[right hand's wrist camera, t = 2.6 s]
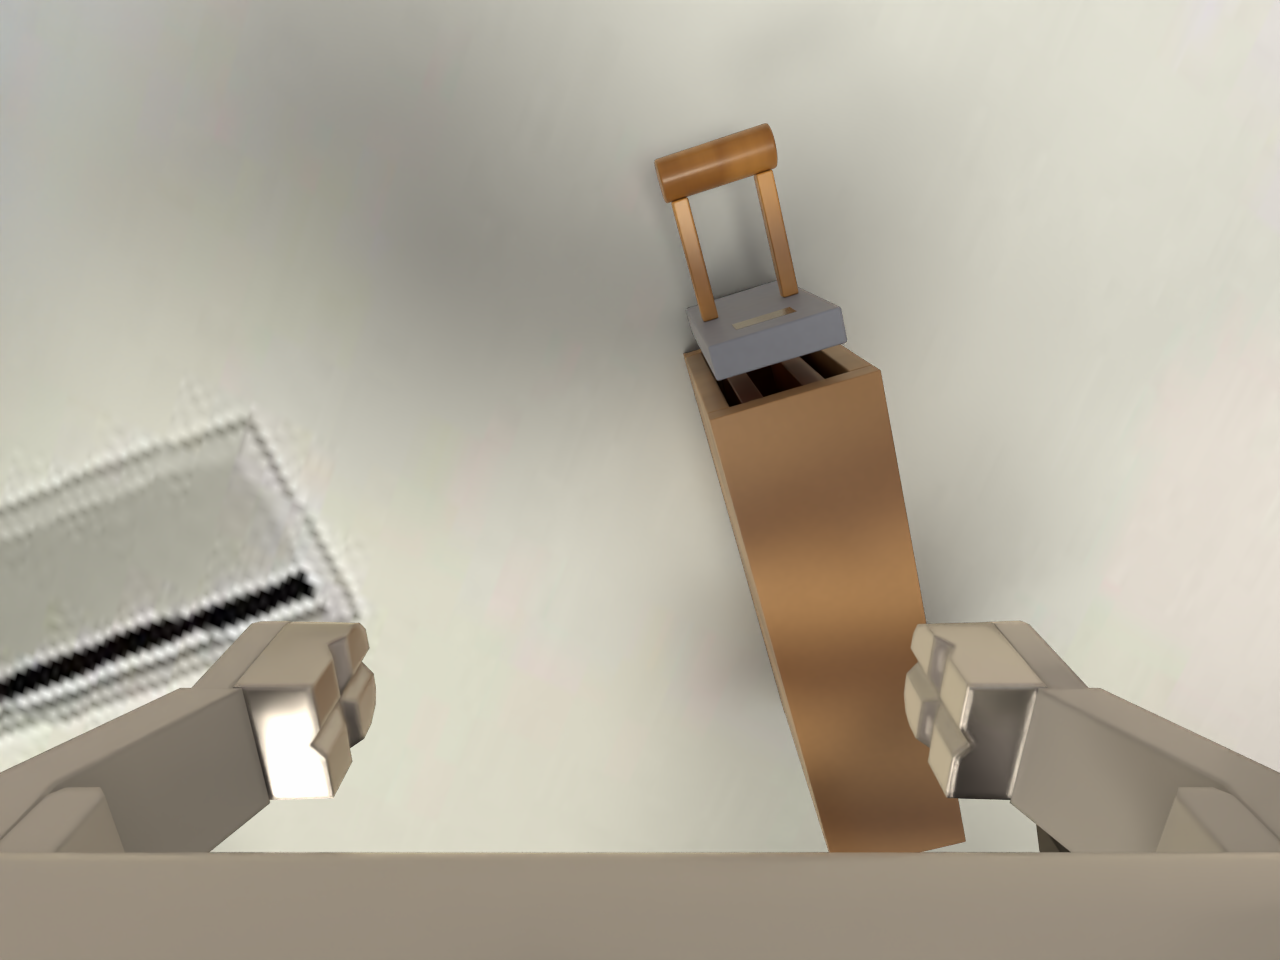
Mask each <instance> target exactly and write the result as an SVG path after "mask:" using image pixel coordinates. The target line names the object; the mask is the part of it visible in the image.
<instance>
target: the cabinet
mask: <svg viewBox="0 0 1280 960" xmlns="http://www.w3.org/2000/svg"><path fill="white" fill-rule="evenodd" d="M683 355H684V359H685V362H686V366H687V369H688V373H689V376H690V380H691V383H692V387H693V390H694V394H695V398H696V401H697V405H698V408H699V412H700V415H701V419H702V422H703V426H704V429H705V433H706V437H707V440H708V444H709V447H710V451H711V454H712V458H713V461H714V465H715V468H716V472H717V476H718V479H719V483H720V486H721V490H722V493H723V497H724V500H725V504H726V507H727V511H728V515H729V518H730V522H731V525H732V529H733V532H734V536H735V539H736V543H737V546H738V550H739V553H740V557H741V561H742V564H743V568H744V571H745V575H746V578H747V582H748V585H749V589H750V592H751V596H752V600H753V603H754V607H755V610H756V614H757V617H758V621H759V624H760V628H761V631H762V635H763V639H764V642H765V646H766V649H767V653H768V656H769V660H770V663H771V667H772V670H773V674H774V678H775V681H776V685H777V688H778V692H779V695H780V699H781V702H782V706H783V709H784V712H785V715H786V718H787V721H788V724H789V727H790V730H791V734H792V737H793V740H794V743H795V746H796V750H797V753H798V756H799V759H800V762H801V765H802V769H803V772H804V775H805V778H806V781H807V784H808V788H809V791H810V794H811V797H812V800H813V804H814V807H815V810H816V813H817V816H818V819H819V823H820V826H821V829H822V832H823V835H824V838H825V842H826V845H827V848H828V851H829V852H923V851H928V850H932V849H936V848H940V847H945V846H949V845H953V844H958V843H962V842H965V841H966V840H965V834H964V829H963V823H962V818H961V812H960V807H959V801H958V798H947V797H946V796H945V794H944V792H943V790H942V788H941V786H940V784H939V782H938V780H937V778H936V776H935V775H934V773H933V771H932V769H931V767H930V765H929V763H928V757H929V751H930V748H929V747H927V746H926V745H925V744H923V743H922V742H920V741H919V740H917V739H916V738H915V736H914V734H913V732H912V730H911V728H910V726H909V722H908V719H907V715H906V712H905V700H904V688H905V680H906V673H907V672H908V671H909V670H910V669H911V668H912V667H913V666H914V665H915V664H916V663H917V662H918V660H917V658H916V657H915V655H914V653H913V651H912V650H911V643H912V637H913V633H914V631H915V628H916V626H917V624H926V619H925V613H924V608H923V602H922V597H921V591H920V586H919V580H918V575H917V569H916V563H915V558H914V552H913V547H912V541H911V536H910V530H909V525H908V519H907V514H906V508H905V503H904V497H903V492H902V486H901V481H900V475H899V470H898V464H897V458H896V453H895V447H894V442H893V436H892V431H891V425H890V420H889V414H888V409H887V403H886V398H885V392H884V387H883V381H882V376H881V371H880V370H879V369H878V368H876V367H875V366H873V365H871V364H870V363H868V362H867V361H865V360H864V359H862V358H861V357H859V356H858V355H856V354H854V353H853V352H851V351H850V350H848V349H847V348H845V347H844V346H842V345H841V344H840V345H836V346H833V347H830V348H826V349H823V350H820V351H816V352H813V353H810V354H806V355H803V356H800V358H802V359H803V360H804V361H805V362H806V363H807V364H808V365H810V366H811V367H812V368H813V369H814V370H815V371H816V372H818V373H819V374H820V375H821V376H822V377H823V378H824V379H823V380H820V381H817V382H813V383H810V384H806V385H803V386H800V387H796V388H793V389H789V390H786V391H783V392H779V393H776V394H773V395H769V396H766V397H762V398H759V399H756V400H752V401H749V402H746V403H742V404H739V405H735V406H732V407H729V405H728V403H727V400H726V396H725V393H724V389H723V385H722V381H721V380H717V379H716V378H715V376H714V374H713V372H712V370H711V368H710V366H709V364H708V362H707V361H706V359H705V357H704V355H703V353H702V351H701V349H699V350H695V351H692V352H689V353H684V354H683Z"/></svg>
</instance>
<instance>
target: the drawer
mask: <svg viewBox="0 0 1280 960" xmlns="http://www.w3.org/2000/svg"><path fill="white" fill-rule="evenodd" d="M654 163H655V169H656V173H657V177H658V181H659V184H660V188H661V191H662V195H663V198H664V201H665V202H666V203H669V202H671V205H672V209H673V213H674V216H675V220H676V224H677V228H678V231H679V235H680V239H681V243H682V246H683V250H684V254H685V258H686V261H687V265H688V269H689V273H690V276H691V280H692V284H693V287H694V291H695V295H696V299H697V302H698V305H696V306H693V307H689V308H687V309H686V313H687V316H688V320H689V324H690V327H691V331H692V334H693V336H694V338H695V340H696V341H697V343H698V345H699V347H700V349H701V351H702V353H703V355H704V357H705V359H706V361H707V362H708V364H709V366H710V368H711V370H712V372H713V374H714V376H715V378H716V379H717V380H721V381H722V385H723V389H724V393H725V396H726V400H727V403H728V405H729V407H732V406H735V405H739V404H742V403H746V402H749V401H752V400H756V399H759V398H762V397H766V396H769V395H773V394H776V393H779V392H783V391H786V390H789V389H793V388H796V387H800V386H803V385H806V384H810V383H813V382H817V381H820V380H823V379H824V378H823V377H822V376H821V375H820V374H819V373H818V372H816V371H815V370H814V369H813V368H812V367H811V366H810V365H808V364H807V363H806V362H805V361H804V360H803V359H802V358H800V356H803V355H806V354H810V353H813V352H816V351H820V350H823V349H826V348H830V347H833V346H836V345H840V344H843V343H845V342H847V337H846V332H845V326H844V321H843V316H842V311H841V308H840V307H839V306H837V305H835V304H832V303H830V302H828V301H826V300H824V299H822V298H820V297H818V296H816V295H814V294H811V293H809V292H807V291H805V290H803V289H801V288H799V287H797V282H796V277H795V273H794V268H793V263H792V259H791V254H790V250H789V245H788V240H787V236H786V231H785V226H784V222H783V217H782V212H781V208H780V203H779V198H778V194H777V189H776V184H775V180H774V175H773V171H772V170H771V169H774V168H776V166H777V150H776V144H775V140H774V136H773V133H772V130H771V128H770V126H769V125H768V124H767V123H764V124H761V125H758V126H755V127H752V128H749V129H746V130H743V131H740V132H737V133H734V134H731V135H728V136H725V137H722V138H719V139H716V140H713V141H710V142H707V143H704V144H701V145H698V146H695V147H692V148H689V149H686V150H683V151H680V152H677V153H674V154H671V155H668V156H665V157H662V158H659V159H656V160H655V162H654ZM753 175H754V180H755V184H756V189H757V193H758V198H759V202H760V207H761V211H762V215H763V220H764V224H765V229H766V233H767V238H768V242H769V247H770V251H771V256H772V260H773V264H774V269H775V273H776V278H777V280H776V281H773V282H770V283H767V284H764V285H760V286H757V287H754V288H751V289H747V290H744V291H741V292H738V293H734V294H731V295H728V296H725V297H722V298H718V299H715V300H714V297H713V293H712V289H711V285H710V282H709V278H708V274H707V270H706V266H705V262H704V258H703V254H702V251H701V247H700V243H699V239H698V235H697V231H696V227H695V224H694V220H693V216H692V212H691V208H690V204H689V200H688V198H687V197H688V196H691V195H694V194H697V193H700V192H703V191H706V190H709V189H712V188H716V187H719V186H722V185H725V184H728V183H731V182H734V181H737V180H740V179H743V178H746V177H749V176H753Z"/></svg>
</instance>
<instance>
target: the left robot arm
mask: <svg viewBox="0 0 1280 960" xmlns="http://www.w3.org/2000/svg"><path fill="white" fill-rule="evenodd" d="M1036 826H1037V835H1038V843H1039V851H1040V852H1070V851H1069V850H1068V849H1066V848H1065V847H1064V846H1063V845H1061V844H1060V843H1059V842H1058V841H1057V840H1055V839H1054V838H1053V837H1052V836H1050V835H1049V834H1048V833H1047V832H1045V831H1044V830H1043V829H1042V828H1041V827H1039V826H1038V825H1037V824H1036Z"/></svg>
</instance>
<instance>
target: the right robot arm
mask: <svg viewBox="0 0 1280 960" xmlns="http://www.w3.org/2000/svg"><path fill="white" fill-rule="evenodd" d="M368 650H369V643H368V638H367V633H366V629H365V628H364V627H363V626H362V625H361V624H360V623H347V622H298V621H294V622H290V621H260V622H256V623H252V624H251V625H250V626H249V627H248V628H247V629H246V630H245V631H244V632H243V633H242V634H241V635H240V636H239V638H238V639H237V640H236V641H235V642H234V643H233V644H232V645H231V646H230V647H229V648H228V649H227V650H226V651H225V653H224V654H223V655H222V656H221V657H220V658H219V659H218V660H217V661H216V662H215V663H214V664H213V665H212V666H211V668H210V669H209V670H208V671H207V672H206V673H205V674H204V675H203V676H202V677H201V678H200V679H199V680H198V681H197V683H196V684H195V685H194V686H193V687H192V688H179V689H177V690H175V691H173V692H171V693H169V694H166V695H164V696H162V697H160V698H158V699H156V700H154V701H152V702H149V703H147V704H145V705H143V706H141V707H139V708H137V709H135V710H132V711H130V712H128V713H126V714H124V715H122V716H120V717H118V718H115V719H113V720H111V721H109V722H107V723H105V724H103V725H101V726H98V727H96V728H94V729H92V730H90V731H88V732H86V733H84V734H81V735H79V736H77V737H75V738H73V739H71V740H69V741H67V742H64V743H62V744H60V745H58V746H56V747H54V748H52V749H50V750H47V751H45V752H43V753H41V754H39V755H37V756H35V757H33V758H30V759H28V760H26V761H24V762H22V763H20V764H18V765H16V766H13V767H11V768H9V769H7V770H5V771H3V772H1V773H0V960H1280V773H1279V772H1277V771H1275V770H1272V769H1270V768H1268V767H1266V766H1264V765H1262V764H1260V763H1258V762H1255V761H1253V760H1251V759H1249V758H1247V757H1245V756H1243V755H1241V754H1239V753H1236V752H1234V751H1232V750H1230V749H1228V748H1226V747H1224V746H1222V745H1219V744H1217V743H1215V742H1213V741H1211V740H1209V739H1207V738H1205V737H1203V736H1200V735H1198V734H1196V733H1194V732H1192V731H1190V730H1188V729H1186V728H1183V727H1181V726H1179V725H1177V724H1175V723H1173V722H1171V721H1169V720H1166V719H1164V718H1162V717H1160V716H1158V715H1156V714H1154V713H1152V712H1150V711H1147V710H1145V709H1143V708H1141V707H1139V706H1137V705H1135V704H1133V703H1130V702H1128V701H1126V700H1124V699H1122V698H1120V697H1118V696H1116V695H1114V694H1111V693H1109V692H1107V691H1105V690H1103V689H1101V688H1088V687H1087V686H1086V685H1085V684H1084V682H1083V681H1082V680H1081V679H1080V678H1079V677H1078V676H1077V675H1076V674H1075V673H1074V672H1073V671H1072V670H1071V669H1070V667H1069V666H1068V665H1067V664H1066V663H1065V662H1064V661H1063V660H1062V659H1061V658H1060V657H1059V656H1058V655H1057V654H1056V652H1055V651H1054V650H1053V649H1052V648H1051V647H1050V646H1049V645H1048V644H1047V643H1046V642H1045V641H1044V640H1043V639H1042V637H1041V636H1040V635H1039V634H1038V633H1037V632H1036V631H1035V630H1034V629H1033V628H1032V627H1031V626H1030V625H1029V624H1027V623H1025V622H1022V621H999V622H976V623H935V624H917V626H916V628H915V631H914V633H913V637H912V643H911V650H912V651H913V653H914V655H915V657H916V658H917V660H918V662H917V663H916V664H915V665H914V666H913V667H912V668H911V669H910V670H909V671H908V672H907V673H906V680H905V688H904V700H905V712H906V715H907V719H908V722H909V726H910V728H911V730H912V732H913V734H914V736H915V738H916V739H917V740H919V741H920V742H922V743H923V744H925V745H926V746H927V747H929V748H930V751H929V757H928V763H929V765H930V767H931V769H932V771H933V773H934V775H935V776H936V778H937V780H938V782H939V784H940V786H941V788H942V790H943V792H944V794H945V796H946V797H947V798H963V799H999V800H1010V803H1011V804H1012V805H1013V806H1015V807H1016V808H1017V809H1018V810H1020V811H1021V812H1022V813H1023V814H1024V815H1026V816H1027V817H1028V818H1029V819H1031V820H1032V821H1033V822H1034V823H1036V824H1037V825H1038V826H1039V827H1041V828H1042V829H1043V830H1044V831H1045V832H1047V833H1048V834H1049V835H1050V836H1052V837H1053V838H1054V839H1055V840H1057V841H1058V842H1059V843H1060V844H1061V845H1063V846H1064V847H1065V848H1066V849H1068V850H1069V851H1070V852H697V853H425V852H210V851H211V850H213V849H214V848H215V847H216V846H218V845H219V844H220V843H221V842H222V841H224V840H225V839H226V838H227V837H229V836H230V835H231V834H232V833H234V832H235V831H236V830H237V829H239V828H240V827H241V826H242V825H243V824H245V823H246V822H247V821H248V820H250V819H251V818H252V817H253V816H255V815H256V814H257V813H258V812H260V811H261V810H262V809H263V808H264V807H266V806H267V805H268V804H269V803H270V800H280V799H315V798H334V796H335V794H336V792H337V790H338V788H339V786H340V784H341V782H342V780H343V778H344V777H345V775H346V773H347V771H348V769H349V767H350V765H351V763H352V757H351V751H350V748H351V747H353V746H354V745H355V744H357V743H358V742H360V741H361V740H363V739H364V738H365V736H366V734H367V732H368V730H369V728H370V725H371V723H372V718H373V714H374V709H375V705H376V686H375V679H374V673H373V672H372V671H371V670H370V669H369V668H368V667H367V666H366V665H365V664H364V663H363V662H362V660H363V658H364V657H365V655H366V653H367V652H368Z"/></svg>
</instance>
